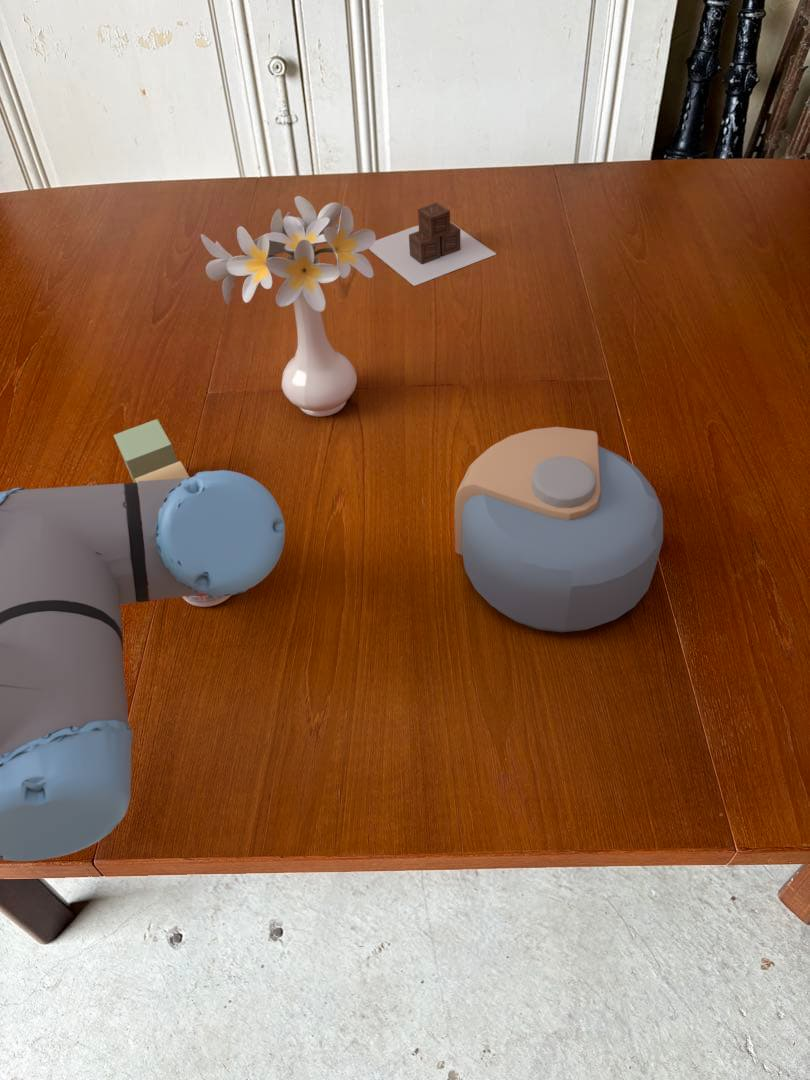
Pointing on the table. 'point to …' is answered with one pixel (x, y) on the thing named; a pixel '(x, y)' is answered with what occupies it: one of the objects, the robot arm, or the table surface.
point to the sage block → (145, 449)
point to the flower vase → (302, 293)
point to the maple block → (165, 473)
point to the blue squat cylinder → (557, 529)
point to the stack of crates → (430, 247)
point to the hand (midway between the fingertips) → (191, 542)
